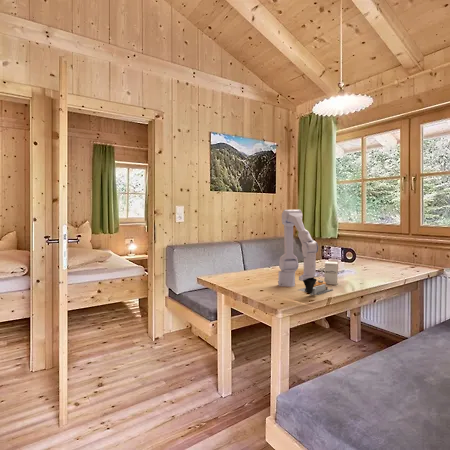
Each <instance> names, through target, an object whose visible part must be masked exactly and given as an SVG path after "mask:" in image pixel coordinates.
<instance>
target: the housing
mask: <svg viewBox="0 0 450 450" xmlns="http://www.w3.org/2000/svg"><path fill="white" fill-rule="evenodd" d="M298 291H300V292H304V293H307V291H306V287H303V288H299V289H298ZM333 291H334V289H333V288H331V289H329V288H328V286H327V285H326V290H325V291H324V292H320V293H317V294H315V295H316V296H320V295H324V294H326V293H330V292H333Z"/></svg>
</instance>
